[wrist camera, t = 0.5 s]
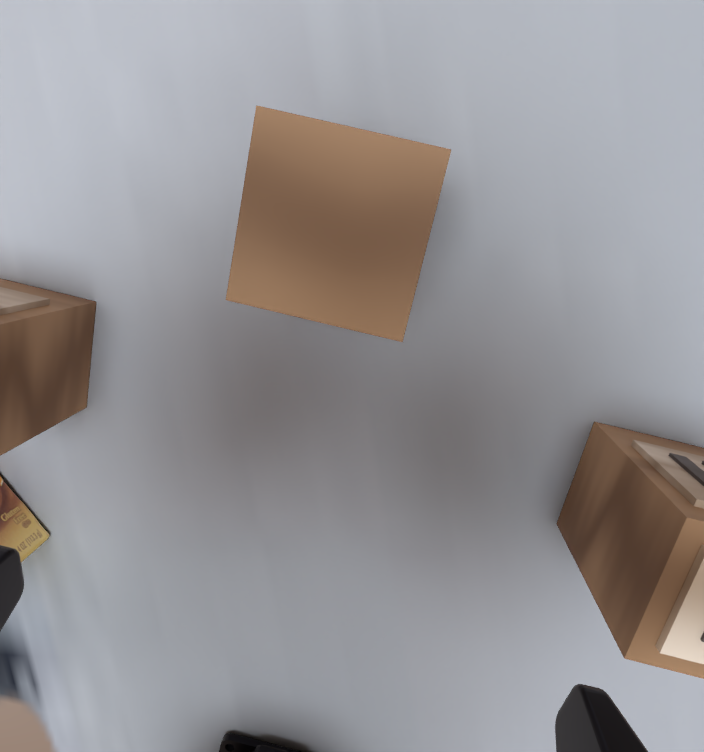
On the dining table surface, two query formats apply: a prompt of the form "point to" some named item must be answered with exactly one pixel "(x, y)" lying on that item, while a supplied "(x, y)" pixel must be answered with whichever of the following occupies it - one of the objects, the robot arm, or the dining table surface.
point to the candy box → (18, 524)
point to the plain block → (334, 222)
